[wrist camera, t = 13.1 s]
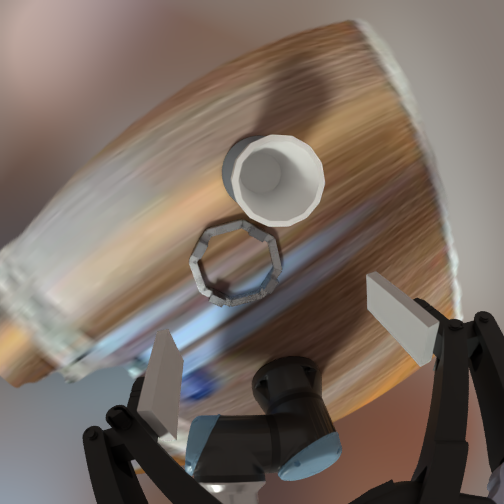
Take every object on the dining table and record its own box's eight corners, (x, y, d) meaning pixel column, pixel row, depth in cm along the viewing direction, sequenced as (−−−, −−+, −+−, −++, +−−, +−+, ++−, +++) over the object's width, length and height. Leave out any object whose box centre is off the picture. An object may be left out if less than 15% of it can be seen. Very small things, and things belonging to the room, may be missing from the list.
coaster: (301, 198, 41) (303, 199, 40) (232, 216, 41) (232, 218, 40) (286, 129, 37) (287, 129, 36) (213, 146, 37) (213, 146, 36)
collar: (285, 288, 46) (288, 294, 44) (207, 309, 46) (207, 316, 44) (268, 211, 41) (270, 214, 39) (180, 235, 41) (179, 239, 39)
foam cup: (303, 179, 39) (340, 192, 27) (254, 217, 40) (271, 244, 28) (265, 128, 36) (288, 116, 24) (214, 167, 37) (212, 172, 25)
